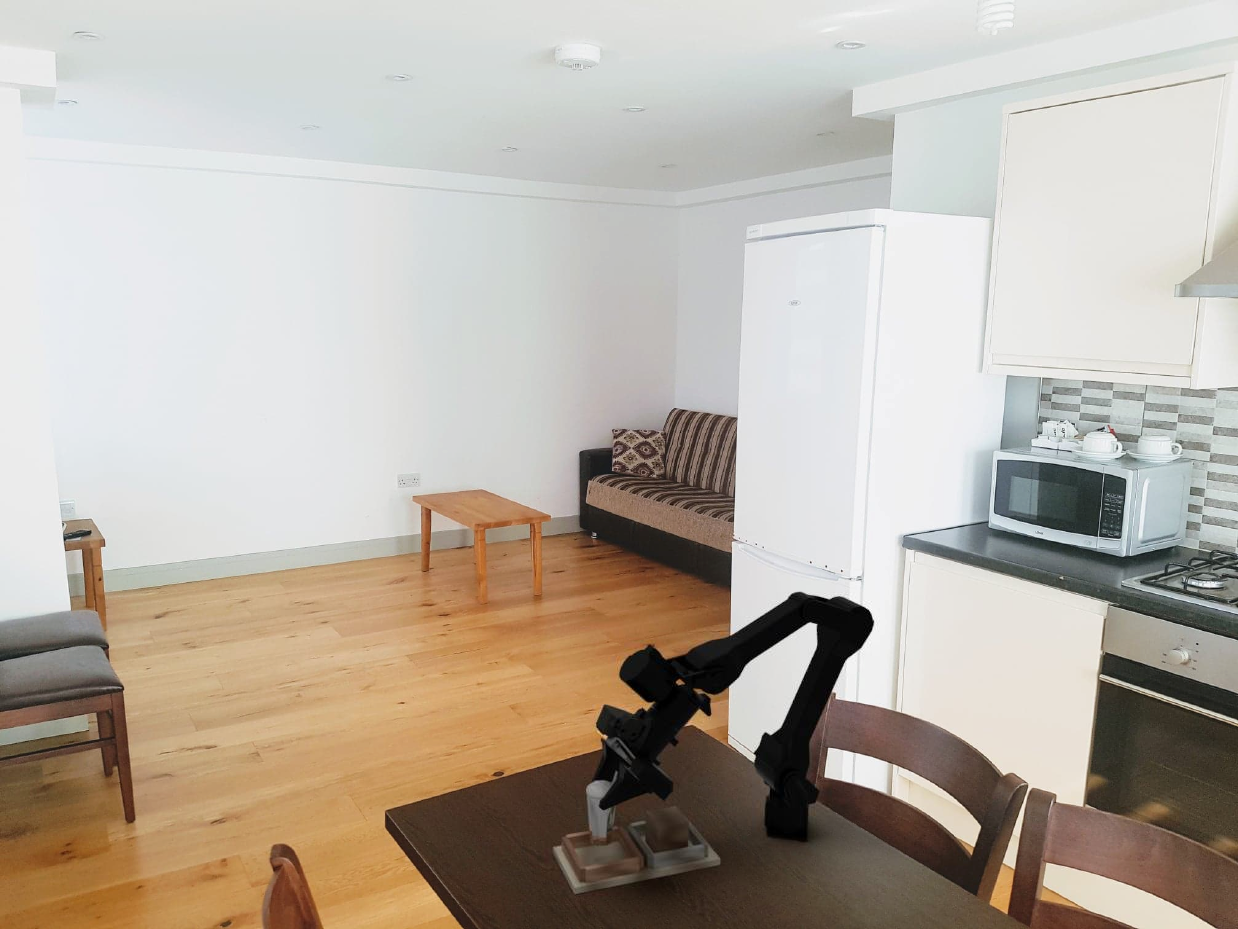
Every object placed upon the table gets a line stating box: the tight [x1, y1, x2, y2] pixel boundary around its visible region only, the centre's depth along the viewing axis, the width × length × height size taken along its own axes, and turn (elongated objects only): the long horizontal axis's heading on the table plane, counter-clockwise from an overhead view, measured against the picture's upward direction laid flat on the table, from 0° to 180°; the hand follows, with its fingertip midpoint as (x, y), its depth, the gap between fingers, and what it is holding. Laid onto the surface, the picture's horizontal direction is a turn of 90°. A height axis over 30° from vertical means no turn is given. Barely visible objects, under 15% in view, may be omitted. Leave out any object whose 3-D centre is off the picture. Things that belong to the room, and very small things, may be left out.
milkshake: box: [585, 771, 618, 846], centre depth 138 cm, size 4×5×10 cm
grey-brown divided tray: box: [552, 805, 721, 895], centre depth 141 cm, size 23×11×6 cm, turn 110°
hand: (595, 800), depth 138 cm, fingers closed on milkshake, 4 cm apart
